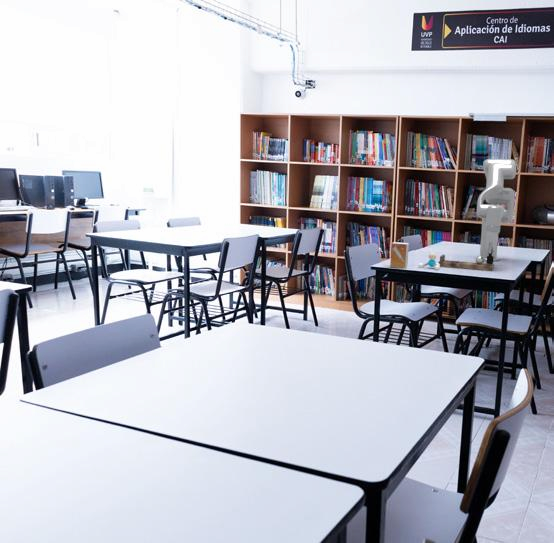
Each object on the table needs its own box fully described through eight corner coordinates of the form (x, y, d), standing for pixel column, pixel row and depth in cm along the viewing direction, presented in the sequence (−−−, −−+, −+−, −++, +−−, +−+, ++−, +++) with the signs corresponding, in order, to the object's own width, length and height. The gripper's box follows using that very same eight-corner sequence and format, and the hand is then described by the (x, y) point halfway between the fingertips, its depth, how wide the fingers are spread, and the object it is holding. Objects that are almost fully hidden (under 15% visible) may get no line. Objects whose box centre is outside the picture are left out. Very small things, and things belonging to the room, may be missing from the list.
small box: (389, 267, 348) (391, 242, 346) (392, 266, 353) (393, 241, 351) (405, 268, 345) (406, 244, 343) (407, 267, 351) (409, 242, 348)
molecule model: (433, 267, 357) (434, 250, 356) (449, 270, 347) (450, 253, 346) (416, 268, 351) (417, 251, 350) (432, 271, 341) (433, 254, 340)
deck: (493, 268, 355) (494, 258, 354) (492, 271, 346) (492, 260, 345) (440, 264, 365) (441, 254, 364) (437, 266, 356) (438, 256, 355)
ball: (475, 263, 355) (476, 255, 355) (484, 263, 354) (484, 255, 353) (474, 264, 351) (475, 256, 351) (483, 265, 350) (484, 256, 349)
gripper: (486, 227, 356) (483, 261, 359) (483, 229, 342) (481, 264, 345) (500, 228, 353) (498, 262, 356) (499, 230, 339) (496, 266, 342)
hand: (489, 263), depth 351 cm, fingers closed
